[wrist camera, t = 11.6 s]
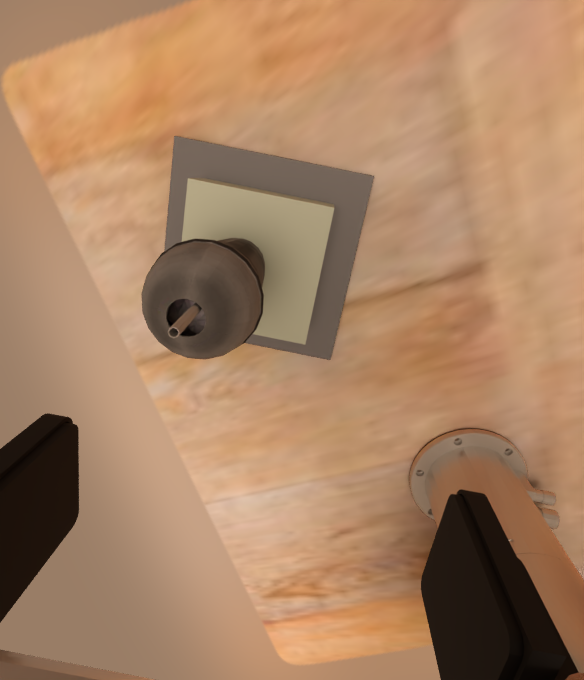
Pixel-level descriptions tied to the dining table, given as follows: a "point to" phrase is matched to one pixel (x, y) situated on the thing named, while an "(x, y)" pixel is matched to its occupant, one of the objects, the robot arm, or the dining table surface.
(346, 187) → the plinth
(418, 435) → the dining table surface
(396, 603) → the dining table surface
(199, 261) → the beverage cup
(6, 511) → the robot arm
